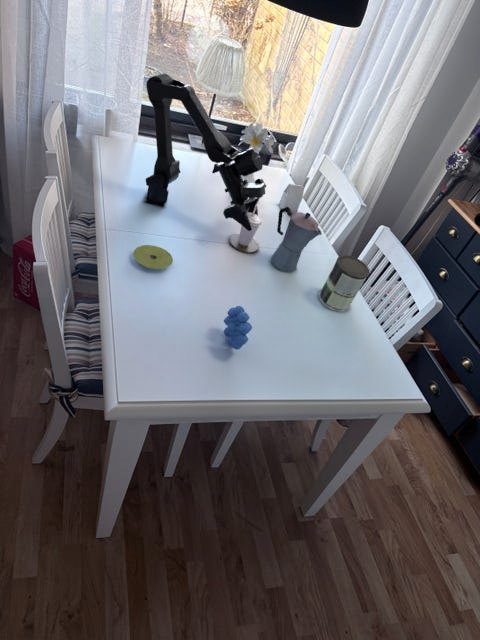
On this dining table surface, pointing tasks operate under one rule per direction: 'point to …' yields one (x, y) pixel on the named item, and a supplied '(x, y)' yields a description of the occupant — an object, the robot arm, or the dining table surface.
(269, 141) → the flower vase
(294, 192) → the white carton
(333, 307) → the coffee can
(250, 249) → the disc
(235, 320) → the grapes
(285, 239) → the moka pot
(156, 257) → the green grainy disc
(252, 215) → the smoothie
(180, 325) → the dining table surface
